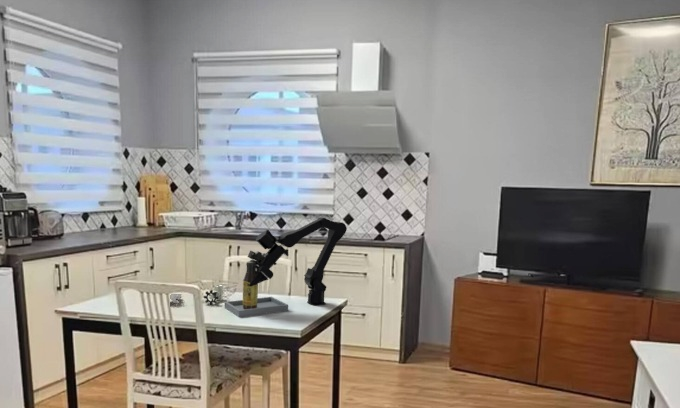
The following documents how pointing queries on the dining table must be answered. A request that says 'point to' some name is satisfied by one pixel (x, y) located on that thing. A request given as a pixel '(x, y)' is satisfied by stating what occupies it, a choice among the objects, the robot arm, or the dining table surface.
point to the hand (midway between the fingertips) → (246, 283)
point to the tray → (263, 307)
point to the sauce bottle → (250, 287)
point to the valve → (215, 294)
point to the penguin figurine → (175, 297)
